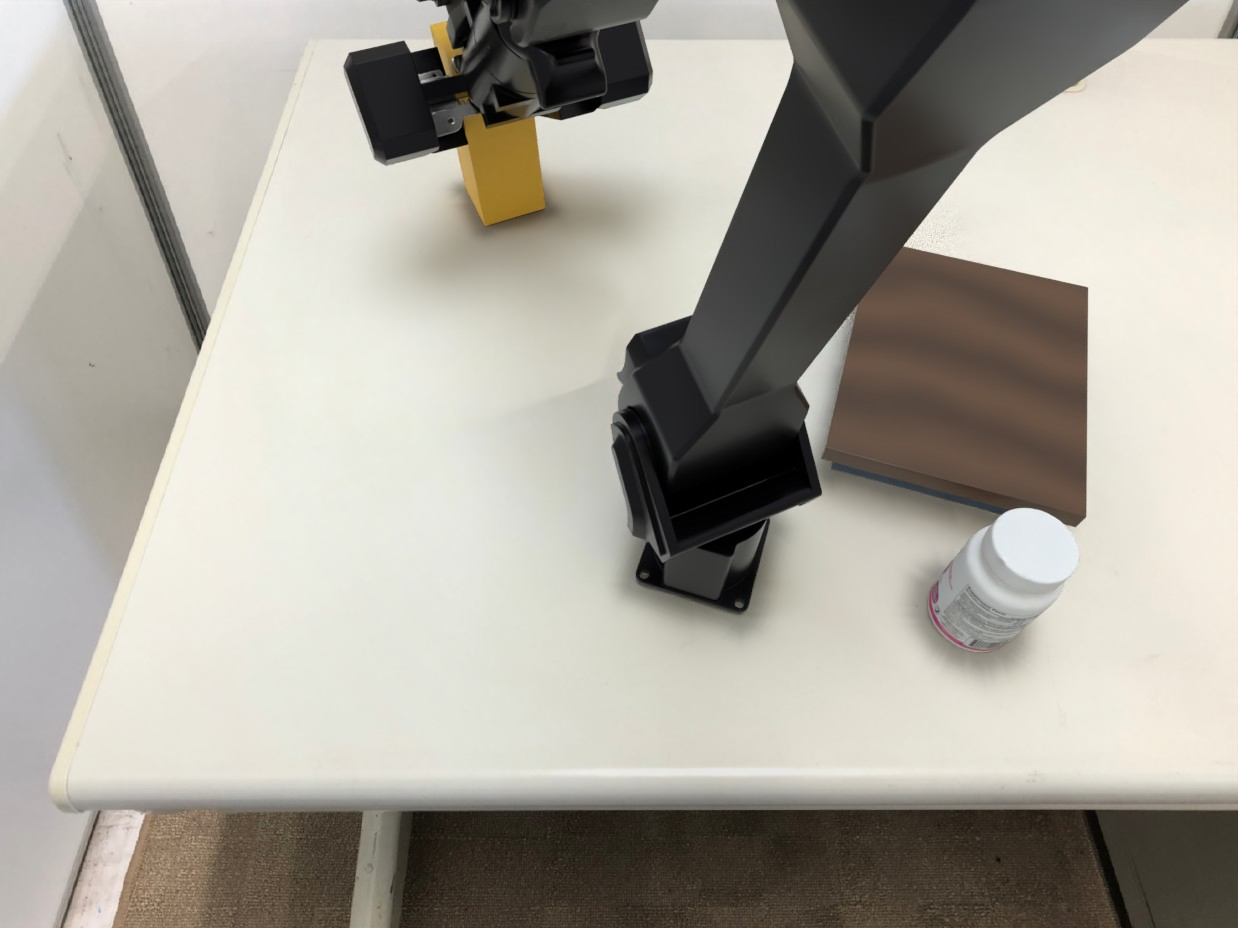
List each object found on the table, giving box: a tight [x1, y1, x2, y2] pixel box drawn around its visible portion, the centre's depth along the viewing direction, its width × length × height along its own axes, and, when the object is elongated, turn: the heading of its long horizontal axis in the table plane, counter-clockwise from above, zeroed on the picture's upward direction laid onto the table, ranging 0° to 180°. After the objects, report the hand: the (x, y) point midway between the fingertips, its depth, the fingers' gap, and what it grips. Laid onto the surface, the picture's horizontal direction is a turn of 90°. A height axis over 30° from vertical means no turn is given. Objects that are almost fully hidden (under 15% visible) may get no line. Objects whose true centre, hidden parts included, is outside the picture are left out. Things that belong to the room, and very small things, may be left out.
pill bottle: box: [927, 508, 1081, 653], centre depth 40 cm, size 5×5×8 cm
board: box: [820, 245, 1089, 528], centre depth 50 cm, size 18×14×5 cm
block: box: [429, 20, 546, 227], centre depth 57 cm, size 5×5×13 cm
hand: (486, 112), depth 58 cm, fingers closed on block, 5 cm apart
